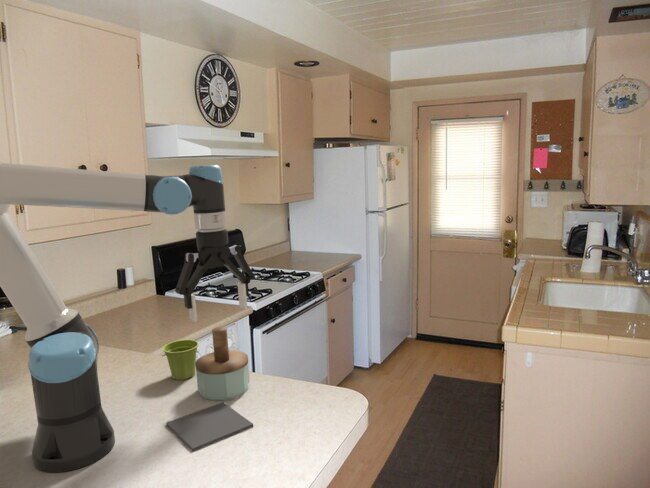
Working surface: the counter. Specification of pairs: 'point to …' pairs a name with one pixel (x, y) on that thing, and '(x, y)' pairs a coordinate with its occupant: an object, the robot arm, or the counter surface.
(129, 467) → the counter surface
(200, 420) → the mat
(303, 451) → the counter surface
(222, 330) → the lid
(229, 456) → the counter surface
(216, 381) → the bowl
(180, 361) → the plant pot
